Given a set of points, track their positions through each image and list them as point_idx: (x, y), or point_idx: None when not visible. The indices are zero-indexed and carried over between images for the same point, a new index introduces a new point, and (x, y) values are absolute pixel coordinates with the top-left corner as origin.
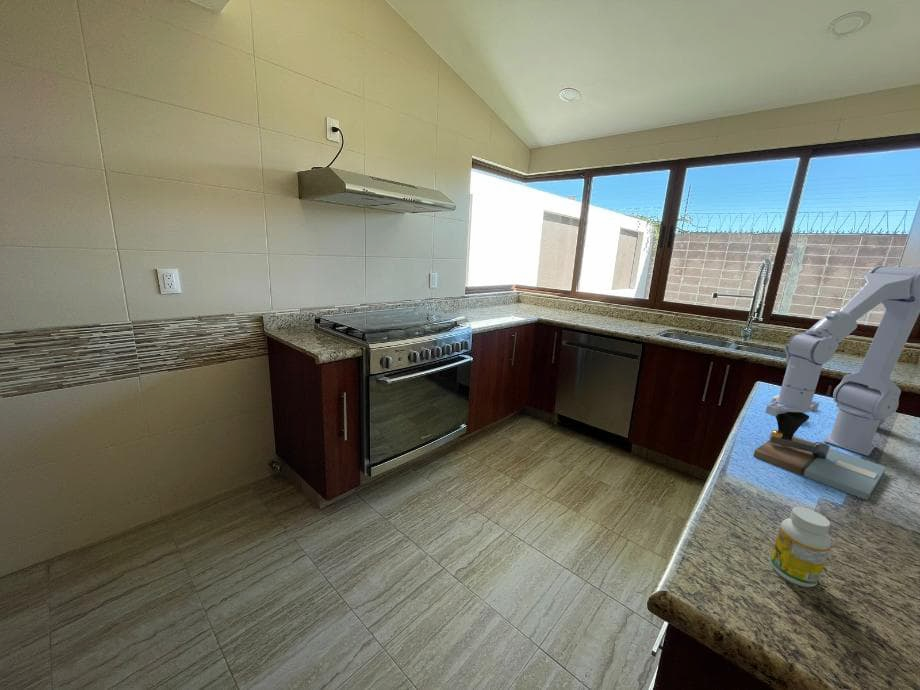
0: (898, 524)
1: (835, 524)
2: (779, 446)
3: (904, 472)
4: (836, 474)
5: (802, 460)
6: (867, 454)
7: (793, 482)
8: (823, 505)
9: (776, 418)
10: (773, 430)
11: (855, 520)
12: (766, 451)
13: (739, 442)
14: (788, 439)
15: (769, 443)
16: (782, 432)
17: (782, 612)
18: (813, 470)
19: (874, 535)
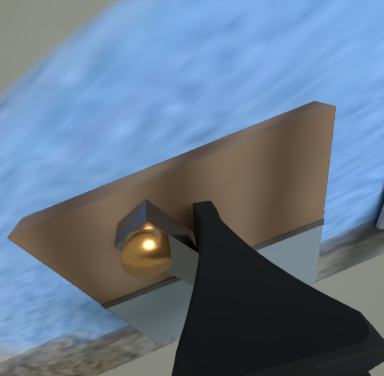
0: (137, 352)
1: (23, 370)
2: None
3: (343, 265)
4: (168, 312)
5: (148, 278)
6: (379, 228)
7: (50, 308)
8: (49, 346)
9: (193, 290)
10: (138, 250)
11: (73, 359)
12: (60, 245)
13: (40, 111)
14: (172, 265)
15: (141, 196)
16: (200, 237)
17: None
18: (126, 307)
19: (69, 371)
